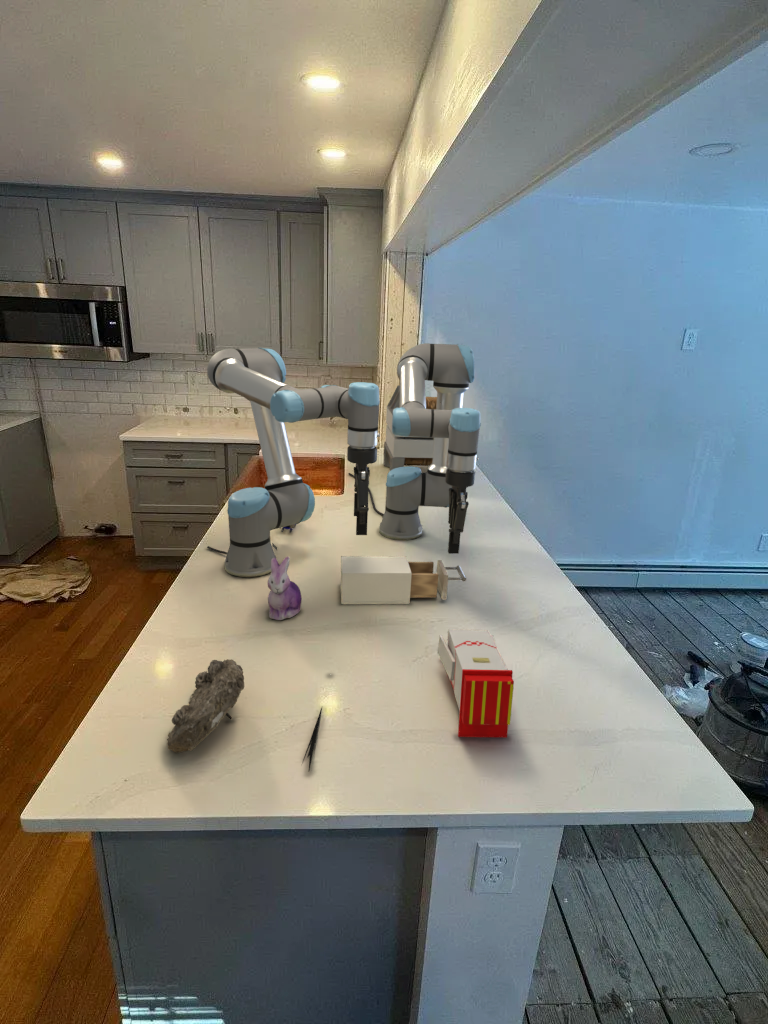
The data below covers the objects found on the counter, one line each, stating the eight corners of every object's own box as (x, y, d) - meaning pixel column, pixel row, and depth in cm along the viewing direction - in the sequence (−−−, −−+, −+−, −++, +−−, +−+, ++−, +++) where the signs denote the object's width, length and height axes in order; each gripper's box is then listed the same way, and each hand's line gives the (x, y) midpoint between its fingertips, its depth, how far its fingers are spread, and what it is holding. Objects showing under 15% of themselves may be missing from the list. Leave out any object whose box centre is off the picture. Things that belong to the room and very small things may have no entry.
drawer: (457, 583, 164) (460, 559, 161) (465, 599, 155) (468, 575, 152) (380, 583, 161) (381, 559, 159) (383, 600, 152) (384, 575, 150)
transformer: (382, 463, 289) (386, 382, 275) (445, 464, 293) (451, 384, 279) (390, 482, 257) (394, 392, 243) (460, 483, 261) (468, 394, 247)
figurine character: (295, 538, 195) (300, 518, 208) (295, 519, 192) (300, 500, 205) (276, 538, 195) (282, 518, 208) (275, 518, 191) (281, 499, 205)
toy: (488, 613, 130) (523, 677, 101) (484, 667, 133) (517, 744, 104) (435, 612, 130) (455, 676, 101) (432, 666, 133) (451, 743, 103)
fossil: (192, 660, 117) (244, 628, 112) (224, 691, 120) (276, 661, 115) (142, 746, 98) (202, 712, 93) (182, 779, 101) (242, 748, 96)
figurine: (272, 625, 139) (271, 570, 134) (261, 606, 148) (259, 553, 143) (309, 617, 144) (308, 563, 139) (295, 599, 152) (295, 548, 147)
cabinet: (404, 585, 163) (406, 556, 160) (409, 604, 153) (411, 573, 150) (340, 585, 161) (341, 555, 158) (341, 604, 151) (342, 573, 148)
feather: (331, 679, 122) (336, 673, 122) (307, 777, 96) (313, 769, 95) (324, 675, 122) (329, 669, 121) (298, 772, 95) (304, 764, 95)
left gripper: (381, 458, 131) (378, 543, 138) (373, 435, 154) (370, 509, 161) (349, 458, 130) (347, 543, 137) (346, 434, 153) (344, 508, 161)
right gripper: (481, 476, 141) (472, 562, 149) (469, 462, 153) (461, 543, 161) (451, 476, 140) (444, 562, 148) (441, 462, 152) (435, 543, 160)
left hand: (360, 524), depth 149 cm, fingers open, 13 cm apart
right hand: (453, 552), depth 155 cm, fingers closed
